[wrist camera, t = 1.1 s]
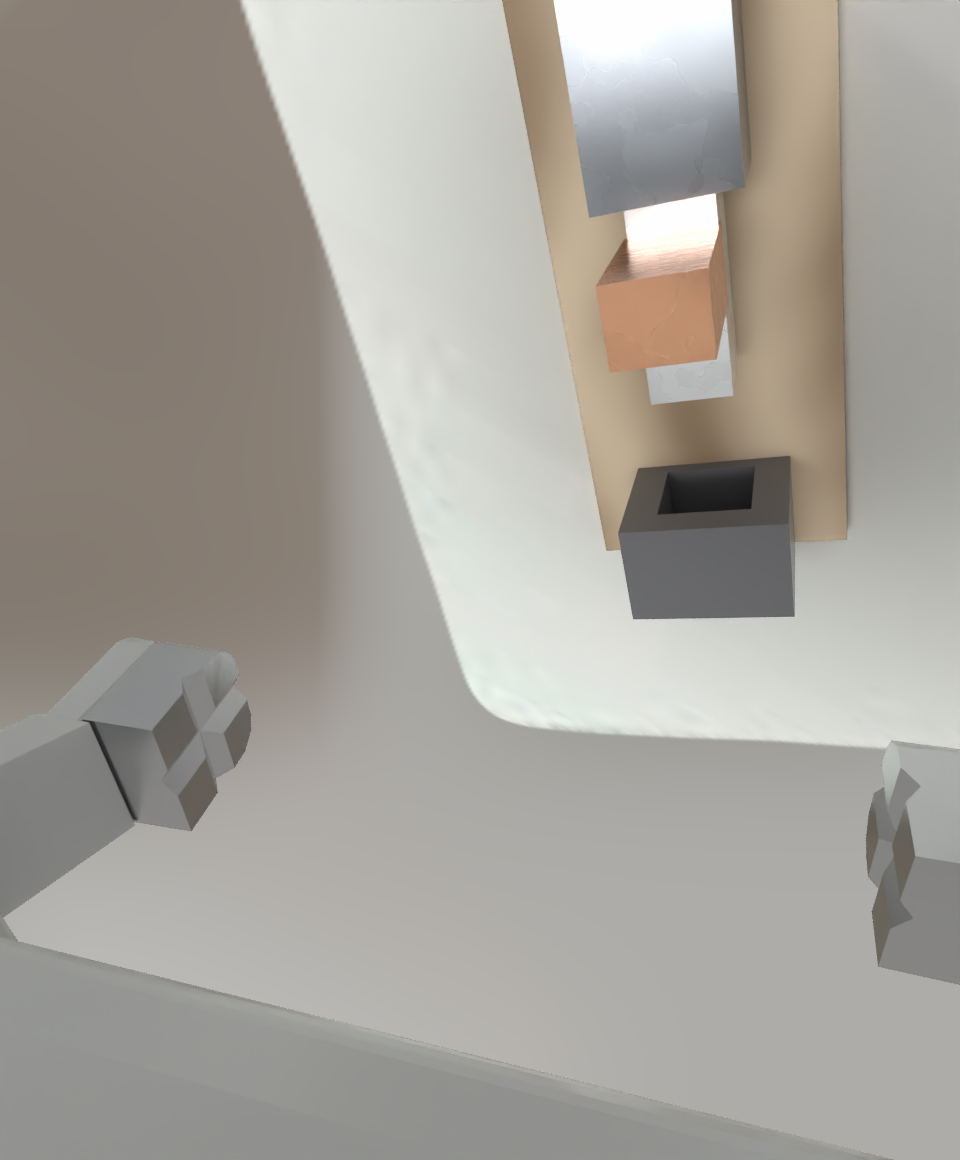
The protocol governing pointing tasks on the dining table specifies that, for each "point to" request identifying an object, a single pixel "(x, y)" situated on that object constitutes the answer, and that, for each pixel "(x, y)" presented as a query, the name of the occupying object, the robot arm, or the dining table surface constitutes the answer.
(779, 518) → the socket block
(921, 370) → the dining table surface
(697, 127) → the sleeve
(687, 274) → the bar
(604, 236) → the oak board
